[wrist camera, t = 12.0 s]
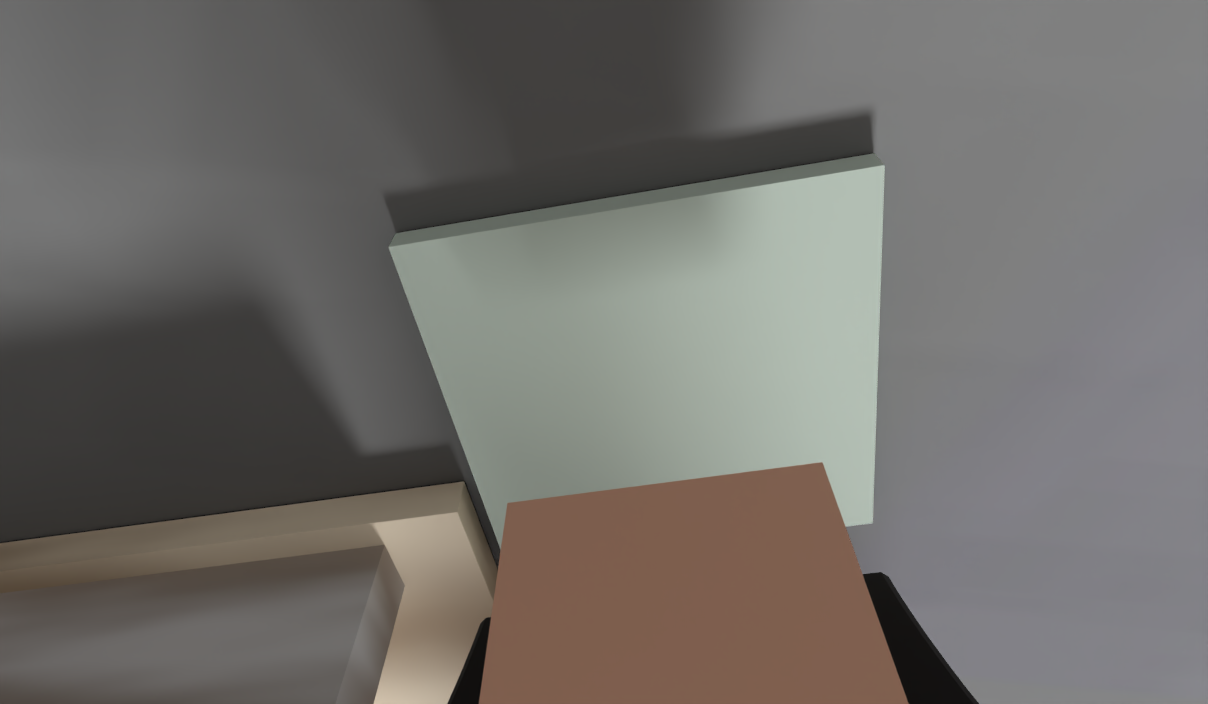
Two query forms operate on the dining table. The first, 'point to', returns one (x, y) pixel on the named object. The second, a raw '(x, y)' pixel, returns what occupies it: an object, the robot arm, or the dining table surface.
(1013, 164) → the dining table surface
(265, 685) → the beige wooden low frame
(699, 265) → the sage pad
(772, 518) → the terracotta block
